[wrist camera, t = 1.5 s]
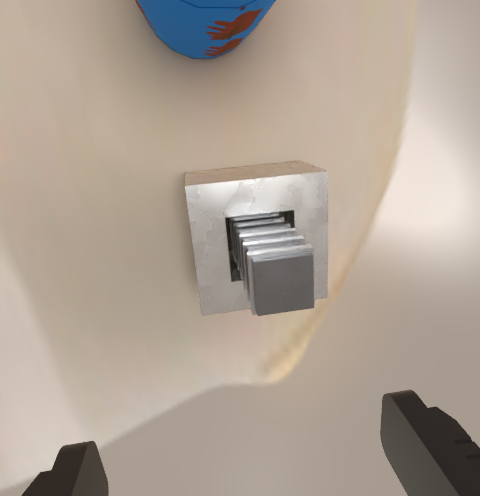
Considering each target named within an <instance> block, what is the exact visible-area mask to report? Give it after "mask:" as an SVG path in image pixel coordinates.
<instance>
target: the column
mask: <svg viewBox="0 0 480 496" xmlns="http://www.w3.org/2000/svg"><path fill="white" fill-rule="evenodd" d="M229 226H230V237H231V248H232V254H233V255H234V260H235V262H237V269H238V270H239V272H240V278H241V279H243V287H244V290H246V292H247V299H248V301H250V302H251V311H252V314H253V315H255V314H257V315H258V316H261V315H268V314H275V313H282V312H289V311H296V310H303V309H310V308H314V247H313V246H312V245H311V244H307V245H305V238H304V237H303V236H302V235H301V236H297V230H296V229H295V228H290V223H289V222H288V221H286V222H284V217H283V216H282V215H281V216H279V212H271V213H262V214H254V215H245V216H236V217H229Z"/></svg>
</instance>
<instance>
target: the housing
mask: <svg viewBox="0 0 480 496" xmlns="http://www.w3.org/2000/svg"><path fill="white" fill-rule="evenodd" d="M185 192H186V200H187V207H188V215H189V222H190V230H191V237H192V244H193V252H194V259H195V267H196V274H197V282H198V289H199V297H200V304H201V312H202V315H210V314H217V313H224V312H231V311H238V310H245V309H251V302H250V301H248V299H247V292H246V290H244V287H243V279H241V278H240V272H239V270H238V269H237V262H235V260H234V255H233V254H232V250H231V251H228V242H227V232H226V222H225V218H227V217H236V216H245V215H254V214H262V213H271V212H279V216H281V215H282V216H283V217H284V222H286V221H288V222H289V223H290V228H295V229H296V230H297V236H301V235H302V236H303V237H304V238H305V245H307V244H311V245H312V246H313V247H314V300H316V299H323V298H327V278H328V171H326V170H323V169H321V168H318V167H315V166H313V165H310V164H307V163H305V162H302V161H294V162H284V163H274V164H264V165H254V166H244V167H234V168H224V169H214V170H204V171H194V172H185Z"/></svg>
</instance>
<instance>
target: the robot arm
mask: <svg viewBox="0 0 480 496" xmlns="http://www.w3.org/2000/svg"><path fill="white" fill-rule="evenodd" d="M380 435H381V442H382V446H383V449H384V452H385V454H386V457H387V458H388V460H389V462H390V464H391V466H392V468H393V469H394V471H395V473H396V474H397V477H398V478H399V480H400V482H401V483H402V486H403V487H404V489H405V491H406V492H407V495H408V496H480V448H479V447H478V446H477V444H476V443H475V442H472V440H471V437H470V436H469V435H468V434H467V433H466V431H465V430H464V429H463V428H462V427H461V426H460V425H459V423H458V422H457V421H456V420H455V419H453V418H452V417H451V416H449V415H448V414H446V413H445V412H443V411H442V410H440V409H439V408H438V407H431V408H427V407H426V405H425V404H424V403H423V402H422V400H421V399H420V398H419V397H418V395H417V394H416V393H415V392H414V391H412V390H406V391H400V392H394V393H387V394H384V396H383V400H382V415H381V431H380ZM22 496H108V481H107V477H106V474H105V471H104V468H103V465H102V462H101V459H100V456H99V452H98V449H97V446H96V444H95V442H94V441H89V442H83V443H77V444H71V445H65V446H63V447H62V448H61V449H60V451H59V453H58V455H57V458H56V460H55V463H54V465H53V468H52V470H51V471H45V472H40V473H39V475H38V476H37V477H36V478H35V479H34V481H33V482H32V483H31V484H30V486H29V487H28V488H27V489H26V491H25V492H24V493H23V494H22Z"/></svg>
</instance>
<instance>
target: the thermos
mask: <svg viewBox="0 0 480 496" xmlns="http://www.w3.org/2000/svg"><path fill="white" fill-rule="evenodd" d="M275 1H276V0H136V3H137V5H138V6H139V8H140V10H141V11H142V13H143V15H144V16H145V18H146V20H147V21H148V23H149V24H150V26H151V28H152V29H153V31H154V32H155V34H156V35H157V36H158V37H159V38H160V39H161V40H162V41H163V42H164V43H166V44H167V45H168V46H169V47H170V48H171V49H172V50H174V51H176V52H178V53H181V54H183V55H186V56H188V57H191V58H215V57H217V56H220V55H222V54H225V53H227V52H229V51H231V50H233V49H234V48H235V47H236V46H237V45H238V44H239V43H240V42H241V41H242V40H243V39H244V38H245V37H246V36H247V35H249V34H250V33H251V32H252V31H253V30H254V29H255V27H256V26H257V25H258V23H259V22H260V21H261V19H262V18H263V17H264V15H265V14H266V13H267V11H268V10H269V9H270V7H271V6H272V5H273V3H274V2H275Z"/></svg>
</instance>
